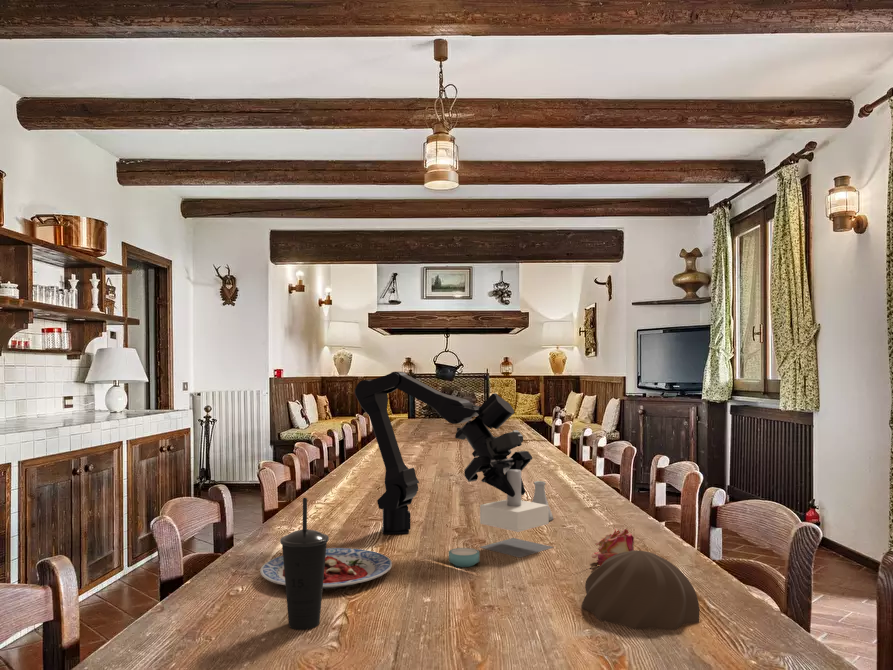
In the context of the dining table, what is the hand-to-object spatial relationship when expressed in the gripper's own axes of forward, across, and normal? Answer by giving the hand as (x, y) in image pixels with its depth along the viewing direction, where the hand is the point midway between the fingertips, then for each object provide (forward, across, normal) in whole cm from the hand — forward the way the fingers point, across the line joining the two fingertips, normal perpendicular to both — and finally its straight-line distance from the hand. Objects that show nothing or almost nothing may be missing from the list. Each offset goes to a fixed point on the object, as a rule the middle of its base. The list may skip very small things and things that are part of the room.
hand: (518, 494), depth 153 cm
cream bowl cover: (+4, 0, +6) cm, 7 cm away
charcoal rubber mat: (+8, +1, +10) cm, 13 cm away
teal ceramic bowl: (+8, -17, +9) cm, 21 cm away
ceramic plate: (-2, -41, +20) cm, 46 cm away
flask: (-3, +29, +21) cm, 36 cm away
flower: (+24, +4, -7) cm, 25 cm away
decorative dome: (+36, -14, -18) cm, 43 cm away
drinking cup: (+12, -59, +6) cm, 60 cm away
